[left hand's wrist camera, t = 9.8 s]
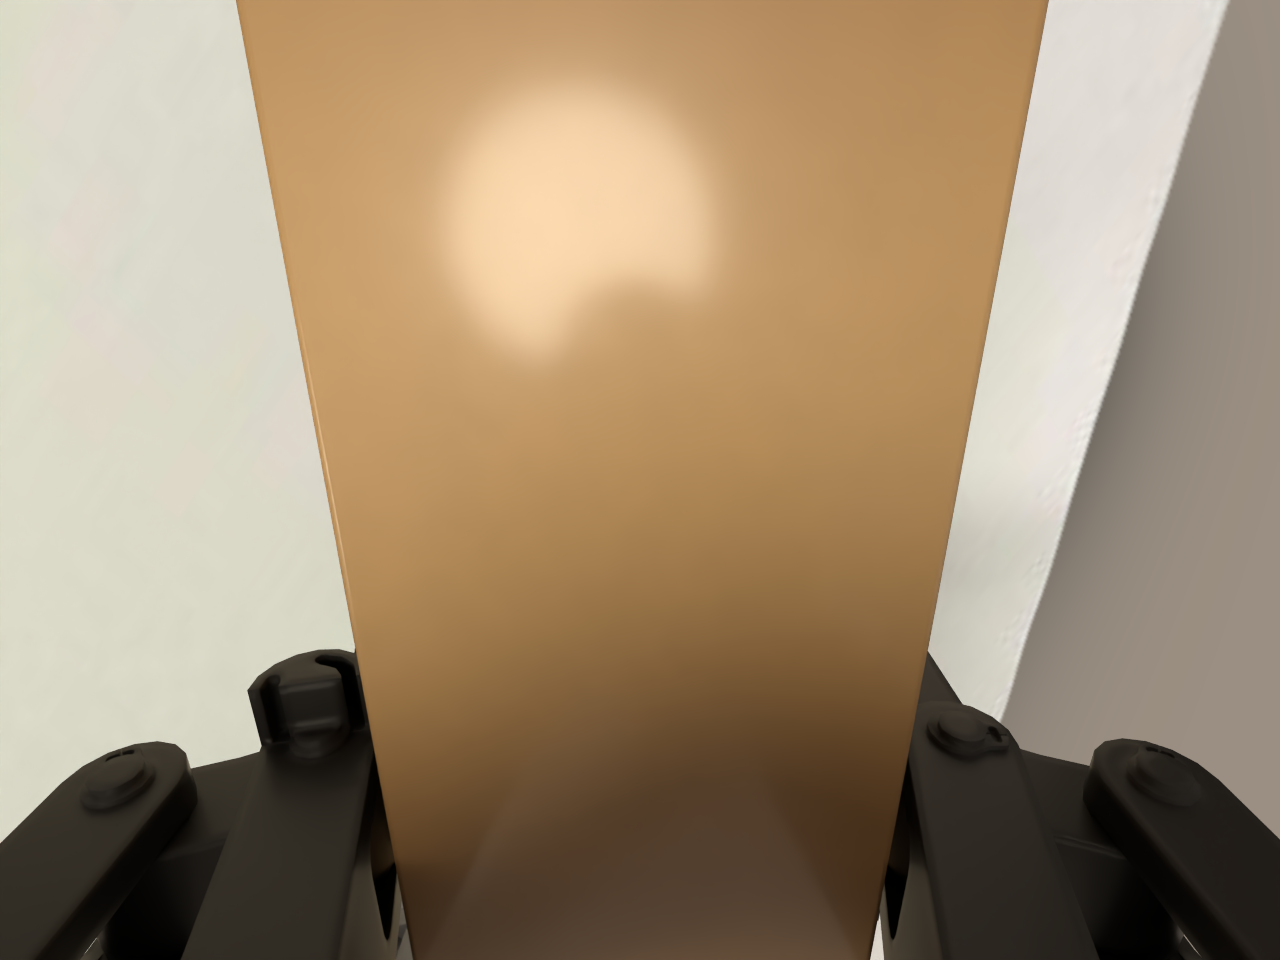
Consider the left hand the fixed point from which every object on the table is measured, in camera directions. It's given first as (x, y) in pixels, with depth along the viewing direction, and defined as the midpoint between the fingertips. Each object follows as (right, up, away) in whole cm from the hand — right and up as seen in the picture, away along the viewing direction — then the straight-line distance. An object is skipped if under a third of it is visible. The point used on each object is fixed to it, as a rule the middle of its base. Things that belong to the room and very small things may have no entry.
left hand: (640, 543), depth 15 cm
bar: (0, +9, -3) cm, 10 cm away
